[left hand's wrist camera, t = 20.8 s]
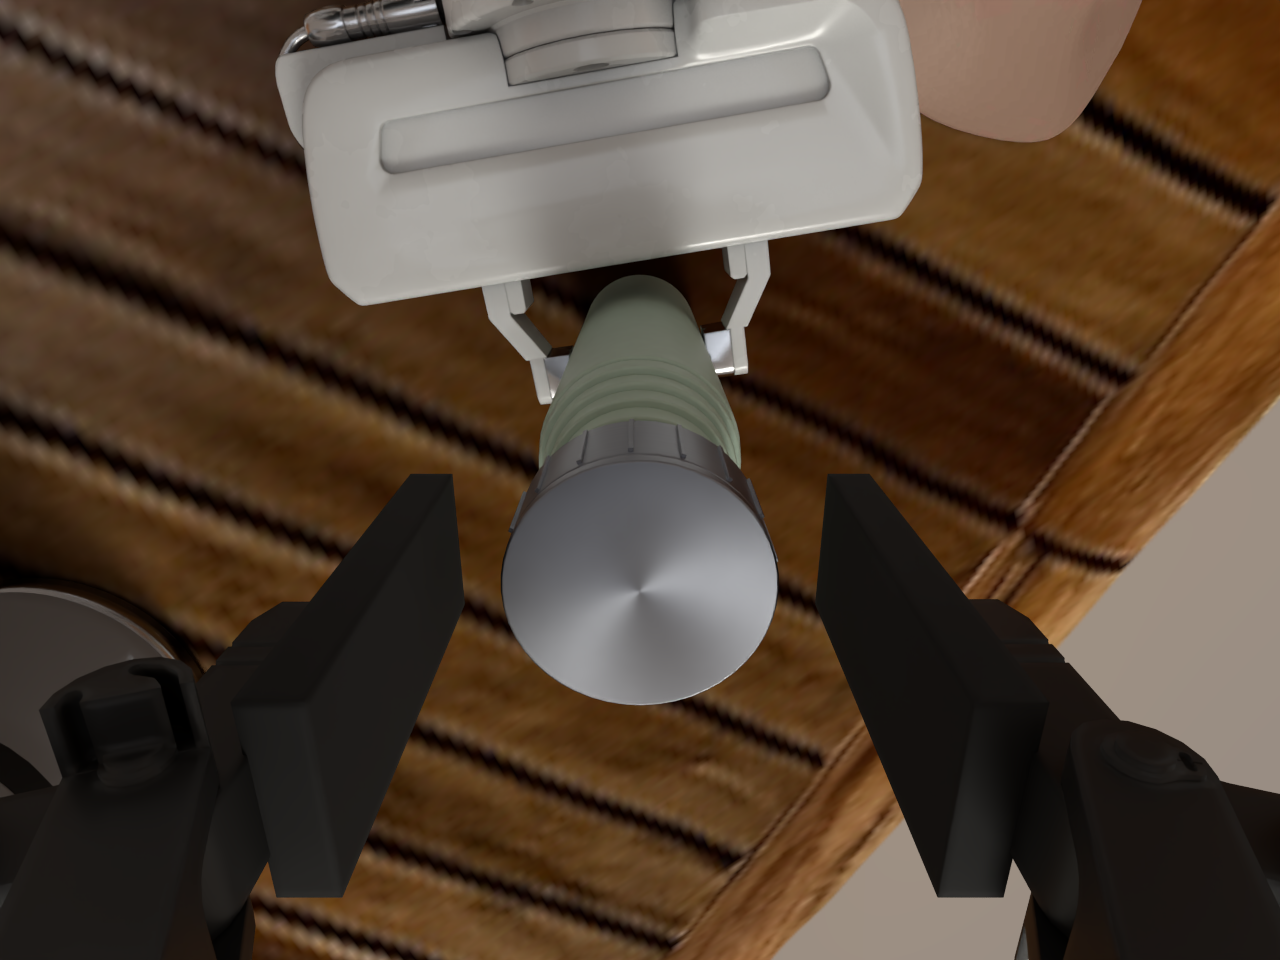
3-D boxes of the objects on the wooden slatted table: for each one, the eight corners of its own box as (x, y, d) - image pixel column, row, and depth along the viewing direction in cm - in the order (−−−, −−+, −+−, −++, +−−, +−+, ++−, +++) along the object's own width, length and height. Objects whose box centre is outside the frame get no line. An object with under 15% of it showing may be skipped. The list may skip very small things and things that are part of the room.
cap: (739, 650, 15) (754, 721, 13) (510, 626, 15) (490, 694, 13) (783, 434, 14) (807, 477, 12) (525, 403, 14) (505, 442, 12)
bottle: (596, 263, 34) (518, 408, 12) (705, 287, 34) (821, 471, 12) (576, 371, 35) (476, 668, 14) (680, 393, 36) (742, 716, 14)
